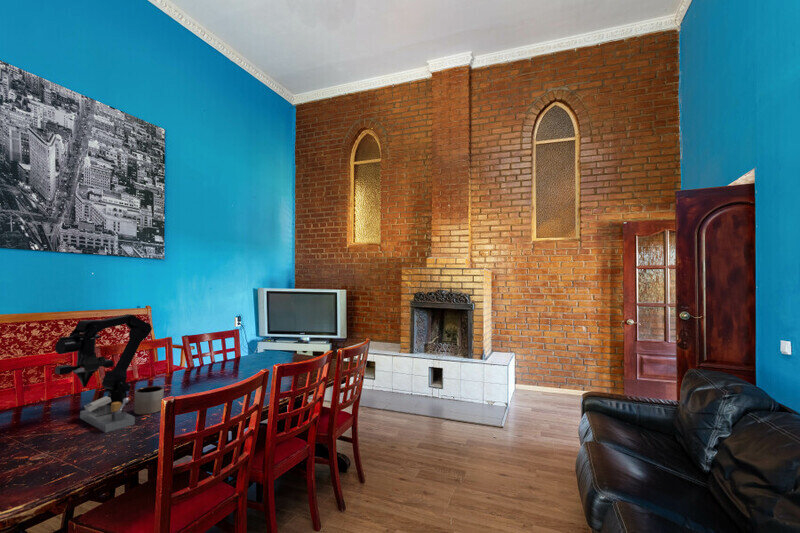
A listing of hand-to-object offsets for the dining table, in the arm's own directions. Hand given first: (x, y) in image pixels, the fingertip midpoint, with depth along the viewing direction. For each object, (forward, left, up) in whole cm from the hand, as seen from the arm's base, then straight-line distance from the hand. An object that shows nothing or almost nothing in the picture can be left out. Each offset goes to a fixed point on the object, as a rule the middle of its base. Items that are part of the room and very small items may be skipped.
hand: (84, 387), depth 163 cm
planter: (-19, +15, -12) cm, 27 cm away
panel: (-3, +15, -12) cm, 19 cm away
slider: (-6, +15, -9) cm, 18 cm away
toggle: (-3, +23, -8) cm, 25 cm away
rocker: (-3, +6, -7) cm, 10 cm away
